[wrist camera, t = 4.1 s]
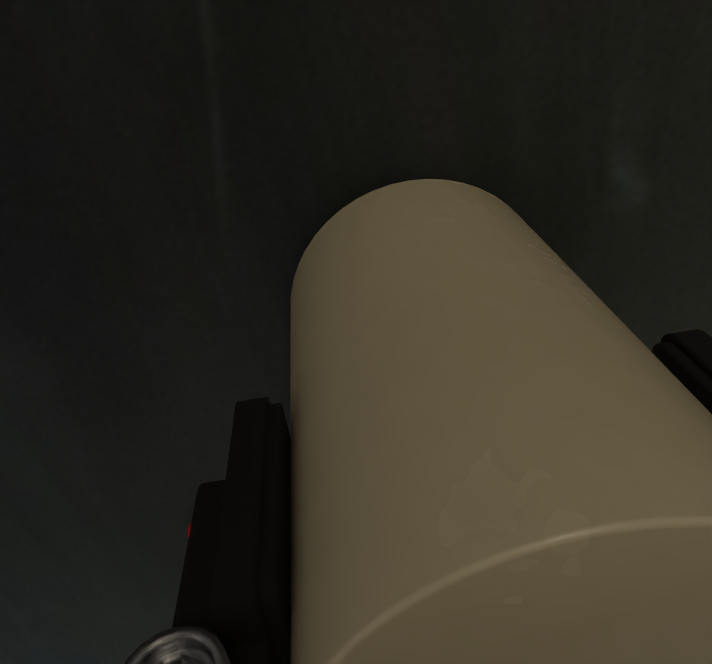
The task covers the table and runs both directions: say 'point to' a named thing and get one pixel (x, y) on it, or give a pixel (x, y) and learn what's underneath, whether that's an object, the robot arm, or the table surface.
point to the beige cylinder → (484, 452)
